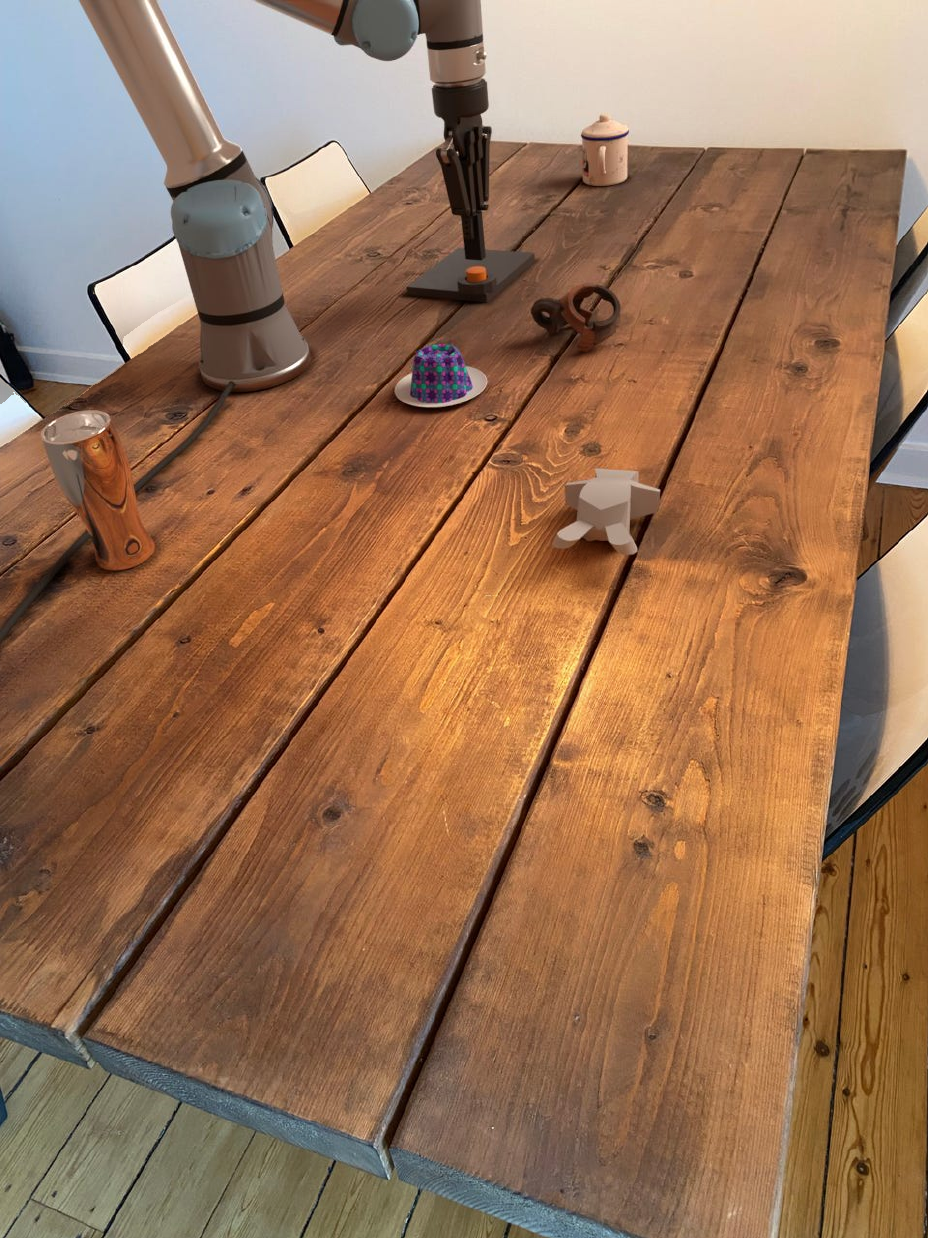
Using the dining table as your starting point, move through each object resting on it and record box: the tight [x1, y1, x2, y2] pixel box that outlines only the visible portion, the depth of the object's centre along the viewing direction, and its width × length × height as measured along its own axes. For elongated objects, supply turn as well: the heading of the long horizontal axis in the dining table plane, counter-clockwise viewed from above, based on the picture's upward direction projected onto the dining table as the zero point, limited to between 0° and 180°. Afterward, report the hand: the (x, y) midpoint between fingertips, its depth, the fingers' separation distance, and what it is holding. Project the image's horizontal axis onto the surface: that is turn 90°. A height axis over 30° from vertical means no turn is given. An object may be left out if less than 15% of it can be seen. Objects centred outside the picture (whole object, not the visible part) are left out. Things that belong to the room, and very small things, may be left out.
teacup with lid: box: [580, 113, 630, 187], centre depth 181 cm, size 12×9×12 cm
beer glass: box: [39, 409, 156, 572], centre depth 95 cm, size 7×7×15 cm
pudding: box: [394, 343, 488, 408], centre depth 120 cm, size 12×12×5 cm
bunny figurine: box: [551, 468, 661, 556], centre depth 93 cm, size 10×5×15 cm
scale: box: [406, 247, 536, 304], centre depth 151 cm, size 19×14×3 cm
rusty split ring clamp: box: [530, 283, 621, 353], centre depth 128 cm, size 12×10×8 cm
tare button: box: [466, 266, 487, 282], centre depth 143 cm, size 3×3×2 cm
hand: (475, 257), depth 142 cm, fingers closed
